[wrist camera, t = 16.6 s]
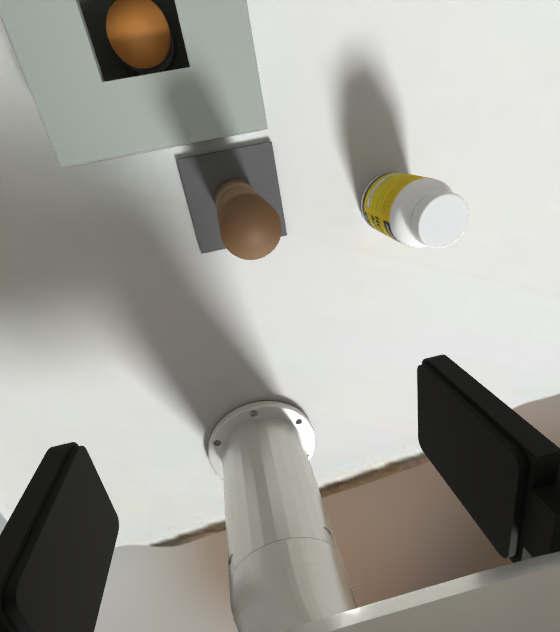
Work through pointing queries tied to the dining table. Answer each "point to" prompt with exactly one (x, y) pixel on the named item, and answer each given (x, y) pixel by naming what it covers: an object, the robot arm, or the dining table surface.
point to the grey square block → (136, 81)
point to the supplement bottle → (414, 210)
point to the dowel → (246, 220)
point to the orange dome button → (140, 35)
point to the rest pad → (214, 169)
